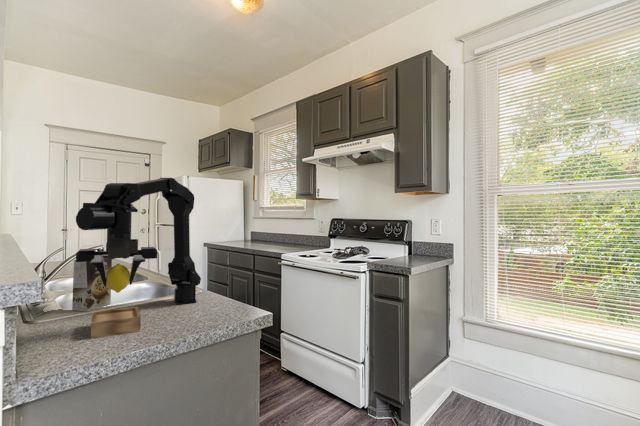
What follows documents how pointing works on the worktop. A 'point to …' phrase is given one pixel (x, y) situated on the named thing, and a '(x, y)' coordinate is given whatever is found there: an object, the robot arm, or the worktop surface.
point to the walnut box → (115, 322)
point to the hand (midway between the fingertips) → (118, 285)
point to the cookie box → (90, 287)
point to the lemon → (118, 278)
